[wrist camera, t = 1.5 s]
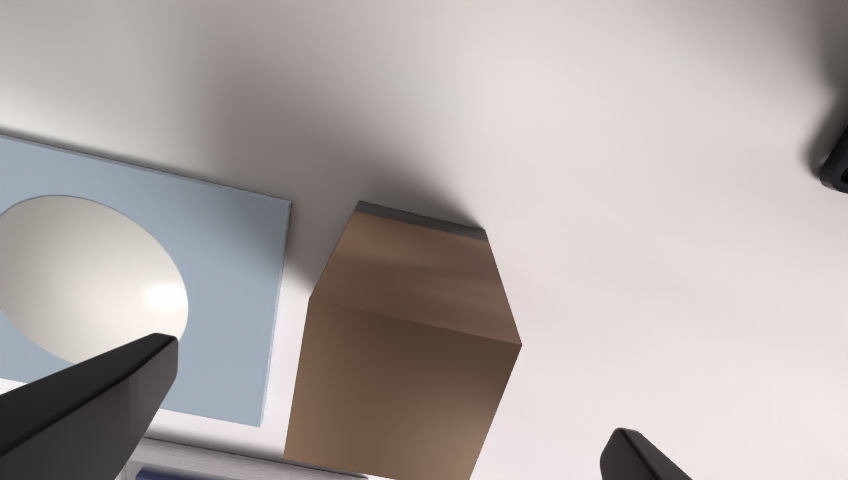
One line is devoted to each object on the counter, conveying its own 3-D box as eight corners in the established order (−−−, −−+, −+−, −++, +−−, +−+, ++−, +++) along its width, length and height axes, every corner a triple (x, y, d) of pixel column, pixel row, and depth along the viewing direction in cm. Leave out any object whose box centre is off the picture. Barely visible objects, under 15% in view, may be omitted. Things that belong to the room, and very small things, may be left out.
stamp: (485, 230, 14) (522, 344, 8) (451, 334, 15) (464, 492, 10) (359, 200, 13) (308, 299, 8) (338, 310, 15) (283, 458, 9)
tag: (291, 201, 13) (288, 204, 13) (262, 421, 17) (258, 428, 16) (-129, 104, 12) (-143, 105, 12) (-71, 357, 16) (-82, 363, 15)
